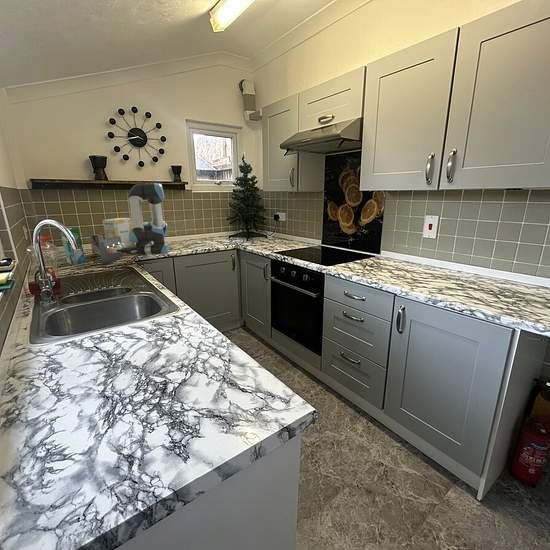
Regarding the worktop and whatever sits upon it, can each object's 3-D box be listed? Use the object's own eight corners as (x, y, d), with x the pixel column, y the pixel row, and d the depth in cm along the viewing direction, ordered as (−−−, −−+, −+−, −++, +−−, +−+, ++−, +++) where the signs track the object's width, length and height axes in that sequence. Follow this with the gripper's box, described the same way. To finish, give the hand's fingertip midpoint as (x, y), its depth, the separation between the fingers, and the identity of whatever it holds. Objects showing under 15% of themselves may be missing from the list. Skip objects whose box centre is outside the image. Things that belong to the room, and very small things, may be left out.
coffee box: (107, 254, 245) (104, 234, 240) (101, 255, 239) (97, 235, 234) (99, 253, 247) (95, 234, 243) (92, 255, 241) (88, 235, 237)
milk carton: (81, 260, 223) (74, 227, 216) (85, 262, 217) (78, 228, 210) (67, 263, 216) (59, 228, 209) (71, 264, 210) (63, 229, 203)
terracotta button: (115, 252, 215) (114, 246, 213) (111, 254, 210) (110, 247, 209) (110, 252, 215) (109, 246, 213) (107, 254, 210) (106, 248, 209)
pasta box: (119, 256, 236) (113, 220, 228) (108, 255, 239) (102, 220, 231) (135, 251, 253) (130, 218, 245) (125, 250, 256) (120, 218, 248)
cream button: (122, 250, 222) (121, 244, 221) (120, 251, 218) (119, 245, 217) (118, 250, 222) (117, 244, 221) (115, 251, 218) (114, 245, 217)
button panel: (124, 256, 234) (120, 236, 229) (108, 264, 211) (104, 241, 206) (113, 256, 234) (110, 236, 229) (96, 264, 211) (92, 241, 206)
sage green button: (125, 248, 230) (124, 242, 229) (122, 249, 226) (121, 243, 225) (121, 248, 230) (120, 242, 229) (118, 249, 226) (117, 243, 225)
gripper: (149, 242, 218) (116, 243, 217) (142, 246, 205) (107, 247, 205) (150, 253, 220) (118, 253, 219) (143, 256, 207) (109, 257, 207)
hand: (113, 250), depth 212 cm, fingers closed
